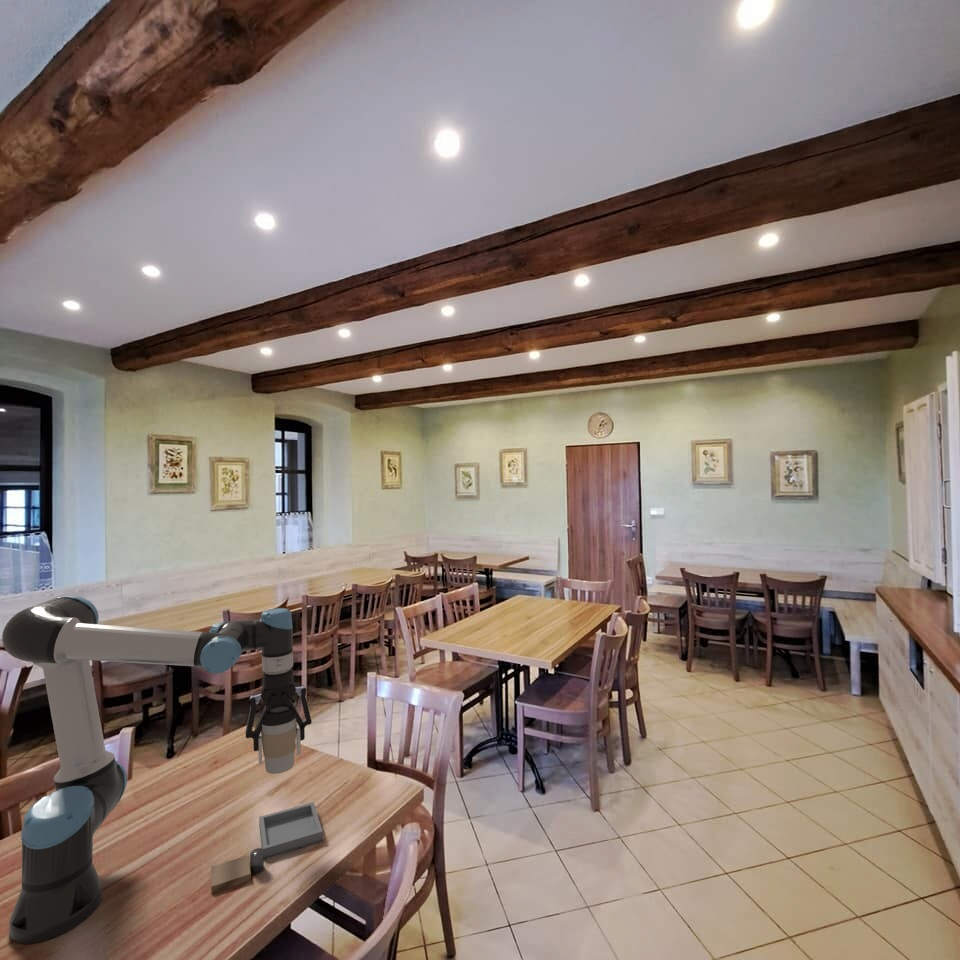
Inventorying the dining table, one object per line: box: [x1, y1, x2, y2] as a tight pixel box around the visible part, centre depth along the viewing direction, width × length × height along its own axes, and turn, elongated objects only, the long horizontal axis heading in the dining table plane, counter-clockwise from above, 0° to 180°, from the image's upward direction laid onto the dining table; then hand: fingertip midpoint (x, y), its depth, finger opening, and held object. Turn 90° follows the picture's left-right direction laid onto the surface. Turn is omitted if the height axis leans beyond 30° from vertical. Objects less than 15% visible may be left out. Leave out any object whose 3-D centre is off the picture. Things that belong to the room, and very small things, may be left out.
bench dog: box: [249, 847, 265, 875], centre depth 120 cm, size 3×3×4 cm
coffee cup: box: [260, 705, 298, 775], centre depth 132 cm, size 9×9×15 cm
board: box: [210, 854, 252, 894], centre depth 118 cm, size 8×7×2 cm
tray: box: [258, 801, 324, 860], centre depth 133 cm, size 14×14×2 cm
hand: (279, 757), depth 132 cm, fingers closed on coffee cup, 8 cm apart
